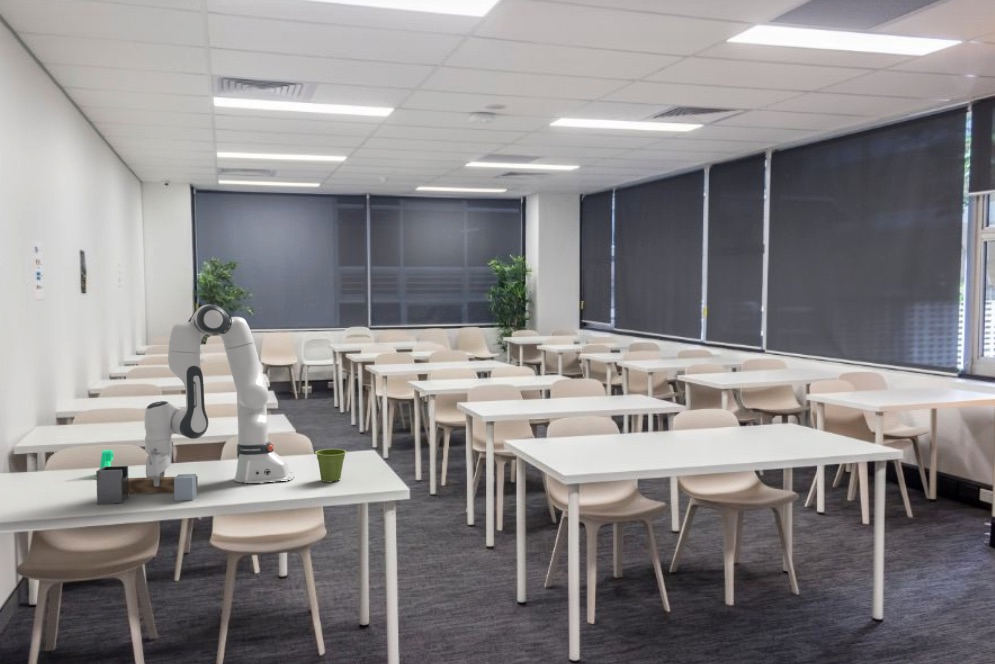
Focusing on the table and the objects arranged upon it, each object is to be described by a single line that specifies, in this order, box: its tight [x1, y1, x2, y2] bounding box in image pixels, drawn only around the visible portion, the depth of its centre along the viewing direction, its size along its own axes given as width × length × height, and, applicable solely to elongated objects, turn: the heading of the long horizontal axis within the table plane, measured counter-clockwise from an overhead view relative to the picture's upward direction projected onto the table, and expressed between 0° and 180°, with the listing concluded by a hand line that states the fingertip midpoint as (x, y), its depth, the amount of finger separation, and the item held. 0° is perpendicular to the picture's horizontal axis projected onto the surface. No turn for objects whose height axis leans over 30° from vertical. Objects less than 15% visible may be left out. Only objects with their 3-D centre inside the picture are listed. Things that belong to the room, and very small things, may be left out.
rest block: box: [173, 473, 198, 502], centre depth 274 cm, size 6×6×8 cm
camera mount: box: [99, 449, 114, 469], centre depth 310 cm, size 12×8×10 cm, turn 14°
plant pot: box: [314, 448, 347, 482], centre depth 301 cm, size 12×12×11 cm
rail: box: [128, 475, 199, 495], centre depth 284 cm, size 26×4×5 cm, turn 98°
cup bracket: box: [95, 465, 130, 505], centre depth 270 cm, size 8×8×12 cm
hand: (159, 484), depth 284 cm, fingers closed on rail, 4 cm apart
